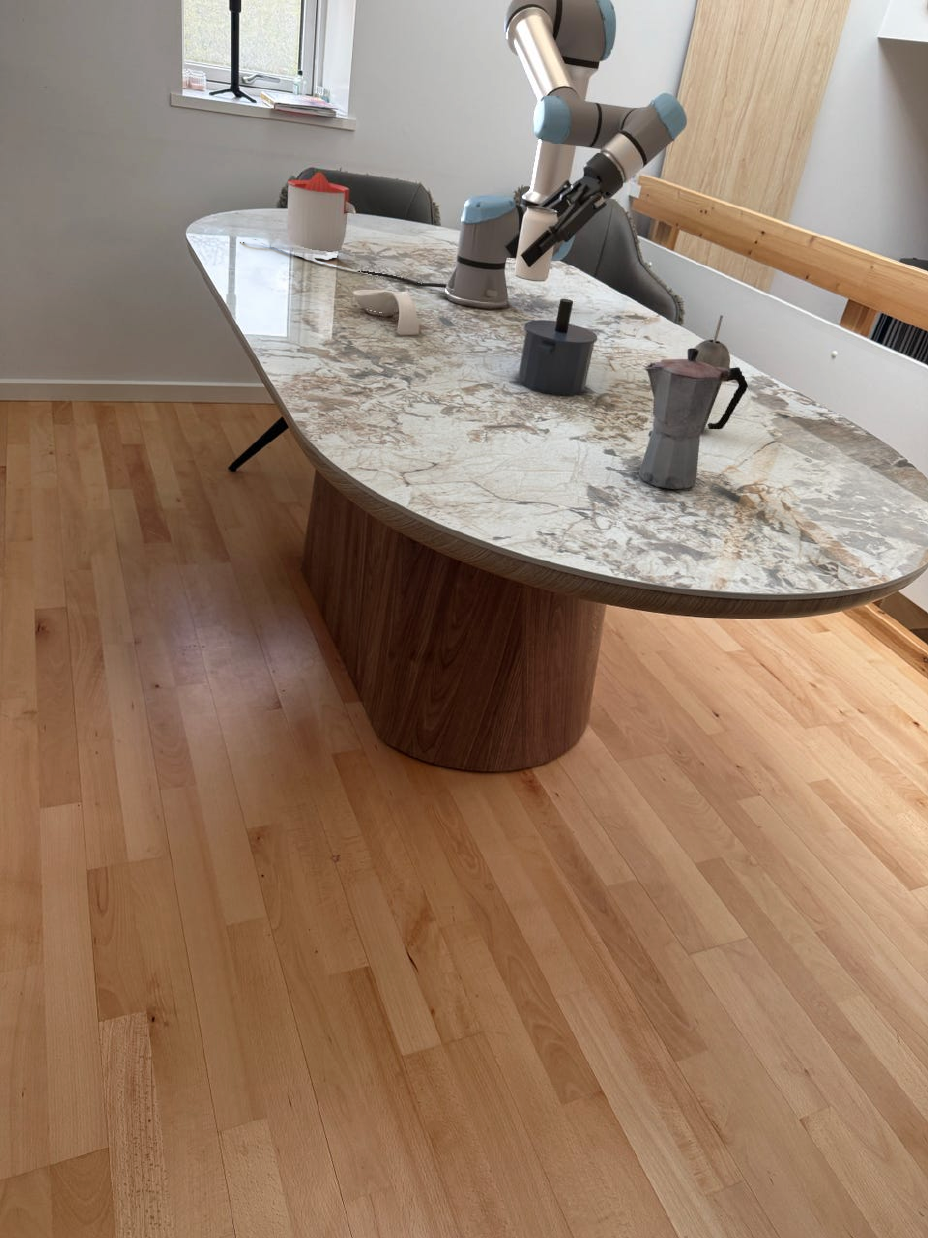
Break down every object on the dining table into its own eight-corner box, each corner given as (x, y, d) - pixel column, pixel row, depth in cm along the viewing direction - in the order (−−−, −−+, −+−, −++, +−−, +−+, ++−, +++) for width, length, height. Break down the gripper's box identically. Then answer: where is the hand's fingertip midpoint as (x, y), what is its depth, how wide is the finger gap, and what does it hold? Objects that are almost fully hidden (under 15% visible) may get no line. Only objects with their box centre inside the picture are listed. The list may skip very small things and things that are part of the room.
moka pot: (613, 461, 146) (643, 334, 135) (706, 471, 148) (743, 346, 137) (627, 487, 137) (660, 353, 127) (725, 496, 140) (766, 366, 129)
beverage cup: (713, 427, 167) (745, 314, 157) (708, 439, 161) (742, 323, 151) (673, 417, 169) (703, 305, 158) (667, 429, 163) (698, 313, 152)
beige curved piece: (344, 303, 205) (346, 270, 201) (393, 305, 210) (397, 272, 206) (383, 336, 187) (386, 299, 184) (435, 336, 192) (440, 301, 189)
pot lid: (512, 335, 168) (518, 297, 164) (537, 321, 179) (544, 286, 175) (583, 353, 164) (591, 315, 160) (604, 338, 175) (612, 302, 171)
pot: (503, 386, 170) (511, 334, 165) (535, 365, 185) (544, 317, 180) (567, 404, 167) (578, 351, 162) (595, 381, 181) (606, 332, 176)
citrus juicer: (348, 267, 236) (354, 181, 226) (279, 257, 235) (282, 170, 225) (355, 255, 250) (361, 174, 239) (290, 245, 248) (293, 163, 238)
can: (545, 283, 172) (557, 214, 165) (511, 277, 172) (522, 208, 166) (549, 277, 177) (561, 209, 171) (516, 271, 178) (527, 203, 172)
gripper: (648, 195, 164) (549, 285, 167) (595, 176, 179) (505, 259, 181) (629, 159, 159) (528, 252, 162) (577, 142, 174) (485, 228, 176)
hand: (516, 256), depth 172 cm, fingers closed on can, 6 cm apart
